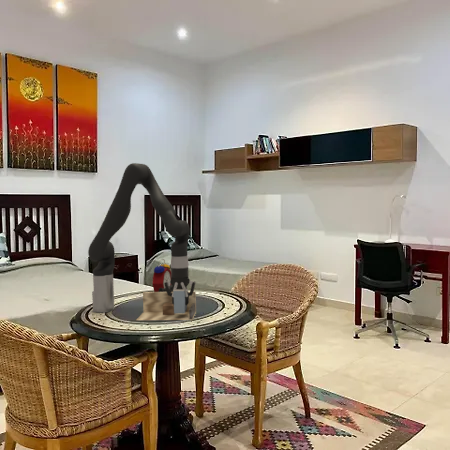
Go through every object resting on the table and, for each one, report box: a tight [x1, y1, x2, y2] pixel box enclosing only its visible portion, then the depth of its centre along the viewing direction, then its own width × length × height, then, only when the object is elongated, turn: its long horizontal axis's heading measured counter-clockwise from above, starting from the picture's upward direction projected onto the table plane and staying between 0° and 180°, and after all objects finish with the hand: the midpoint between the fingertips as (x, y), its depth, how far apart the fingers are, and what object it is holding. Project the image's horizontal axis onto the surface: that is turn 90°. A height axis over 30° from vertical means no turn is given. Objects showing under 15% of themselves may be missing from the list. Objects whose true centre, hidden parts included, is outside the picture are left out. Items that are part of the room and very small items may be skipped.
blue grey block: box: [173, 289, 187, 313], centre depth 195 cm, size 5×7×10 cm, turn 176°
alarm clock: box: [150, 258, 171, 292], centre depth 247 cm, size 15×9×20 cm, turn 167°
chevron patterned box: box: [135, 291, 197, 323], centre depth 197 cm, size 24×15×10 cm, turn 87°
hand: (180, 304), depth 195 cm, fingers closed on blue grey block, 4 cm apart
